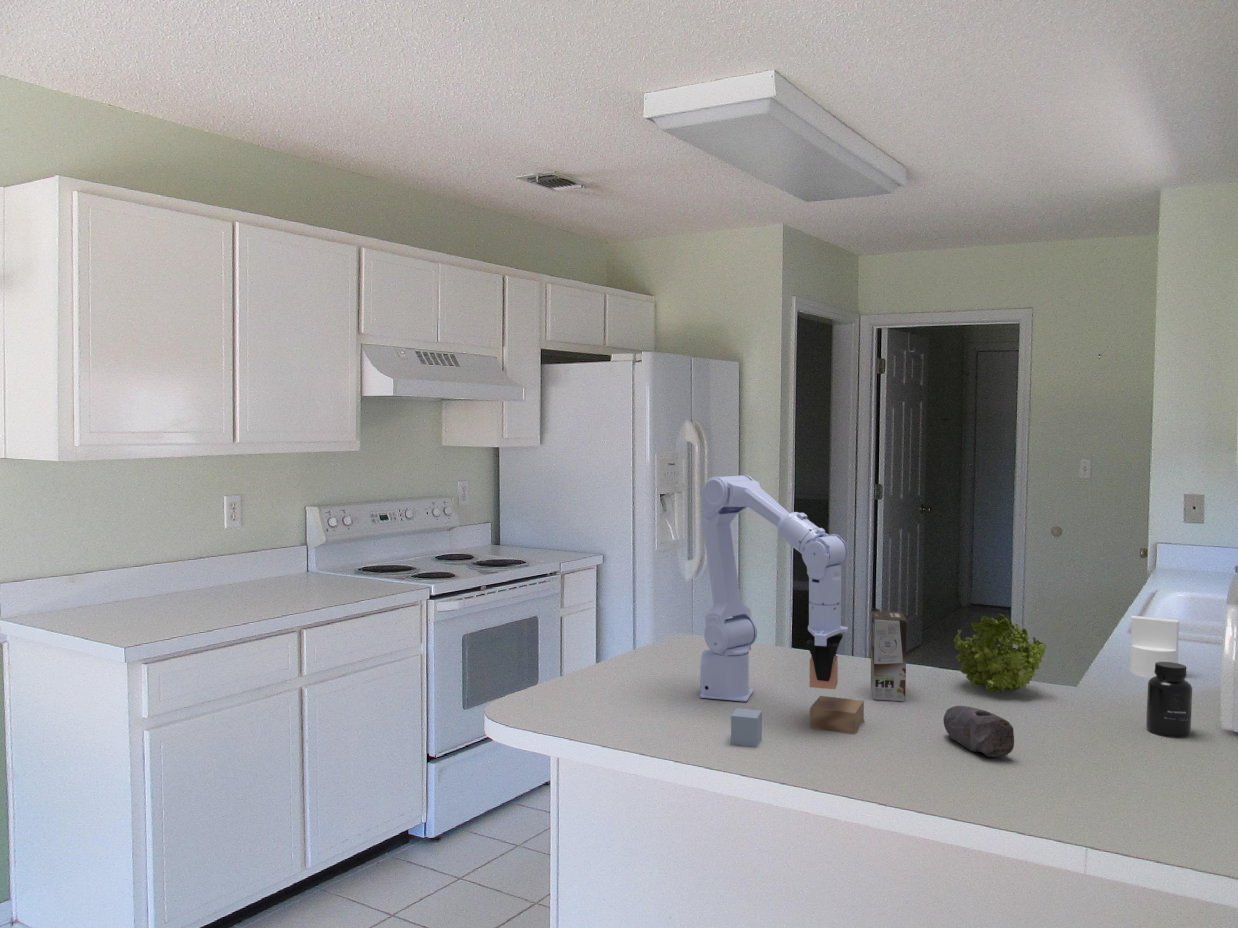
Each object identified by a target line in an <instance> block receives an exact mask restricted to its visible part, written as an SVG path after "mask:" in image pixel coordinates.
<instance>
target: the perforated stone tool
mask: <svg viewBox="0 0 1238 928" xmlns="http://www.w3.org/2000/svg"><path fill="white" fill-rule="evenodd" d="M943 725H944V728H945V731H946V733H947V734H948V736H949V737H951V739H952V740H954V741H955V742H958V743H960V745H961V746H963V747H964V748H966V749H968V750H970V751H971V752H974V753H978V752H980V753H983V754H984V755H985V756H986V757H990V758H996V757H1006V756H1008V755H1009V754H1011V752H1012V751H1013V750H1014V747H1015V733H1014V727H1013V725H1012V724H1011V723H1010V722H1009V721H1008V720H1007V719H1004V718H1003V717H1000V716H998V715H997V714H995V713H992V712H990V711H987V710H985V709H980V708H977V707H972V706H968V705H967V706H966V705H965V706H964V705H955V706H952V707H950V708H949V707H948V709H946V711H945V713H944V716H943Z"/></svg>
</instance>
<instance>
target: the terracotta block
mask: <svg viewBox="0 0 1238 928" xmlns="http://www.w3.org/2000/svg"><path fill="white" fill-rule="evenodd" d="M838 659H839V657H838V655H836V656H834V659H833V664H832V671H831V676H830V679H829V681H819V680H817V677H816V673H815V667H814V662H813V658H812V656H810V658H809V688H814V689H825V690H826V689H827V690H836V689H837V685H838V683H839V681H838V679H839V678H838V677H839V676H838V675H839V673H838V672H839V671H838V669H839V668H838V667H839V666H838V662H839V661H838Z"/></svg>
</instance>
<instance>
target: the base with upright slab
mask: <svg viewBox="0 0 1238 928" xmlns="http://www.w3.org/2000/svg"><path fill="white" fill-rule="evenodd" d="M1179 629H1180V621H1179V619H1173V618H1164V617H1163V618H1162V617H1155V616H1154V617H1153V616H1143V615H1142V616H1140V615H1131V616H1130V645H1129V646H1130V653H1129V654H1130V656H1129V657H1130V658H1129V673H1131V674H1132V675H1134V676H1136V677H1137V676H1138V677H1142V678H1146V679H1151V678H1152V677H1155V676H1156V674H1155V673H1154V670H1155V663H1156V662H1173V663H1178V664H1179V639H1180V638H1179V637H1180V636H1179V635H1180V634H1179V631H1180V630H1179Z"/></svg>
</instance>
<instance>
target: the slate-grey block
mask: <svg viewBox="0 0 1238 928" xmlns="http://www.w3.org/2000/svg"><path fill="white" fill-rule="evenodd" d="M762 721H763V710H760V709H749V708H739V707H736V708H735V709H734V710H733V712H732V714H731V715H730V745H734V746H743V747H751V746H755V747H754V748H758V747H759V744H760V742H761V741H762V740H763V739H762V738H763V735H762V734H763V733H762V732H763V727H762V726H763V723H762ZM757 746H758V747H757Z"/></svg>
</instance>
